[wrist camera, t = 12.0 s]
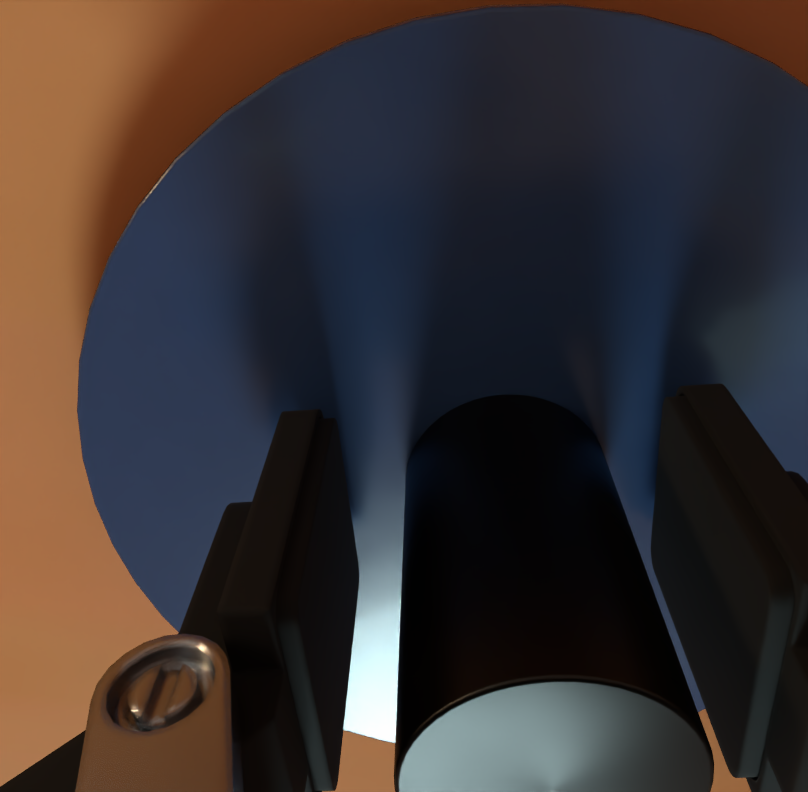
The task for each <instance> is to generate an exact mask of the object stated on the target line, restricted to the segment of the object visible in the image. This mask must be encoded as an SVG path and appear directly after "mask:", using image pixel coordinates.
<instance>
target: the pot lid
mask: <svg viewBox="0 0 808 792" xmlns="http://www.w3.org/2000/svg"><path fill="white" fill-rule="evenodd" d="M719 383H720V384H723V385H724V386H725V387H726V388H727V389H728V391H729V392H730V393H731V395H732V396H733V398H734V399H735V401H736V402H737V403H738V405H739V406H740V408H741V409H742V410H743V412H744V413H745V415H746V416H747V417H748V419H749V420H750V422H751V423H752V424H753V426H754V427H755V429H756V430H757V431H758V433H759V434H760V436H761V437H762V438H763V440H764V441H765V443H766V444H767V446H768V447H769V448H770V450H771V451H772V453H773V454H774V455H775V457H776V458H777V460H778V461H779V462H780V464H781V465H782V467H783V468H784V469H785V471H793V472H796V473H799V474H800V475H801V476H802V477H803V478H804V479H805V481H806V482H807V483H808V86H807V85H806V84H804V83H803V82H801V81H800V80H798V79H797V78H795V77H794V76H792V75H791V74H789V73H788V72H786V71H785V70H783V69H782V68H780V67H779V66H777V65H776V64H774V63H773V62H770V61H768V60H766V59H764V58H762V57H759V56H757V55H755V54H753V53H751V52H749V51H746V50H744V49H742V48H740V47H738V46H735V45H733V44H731V43H729V42H727V41H725V40H722V39H720V38H718V37H716V36H714V35H711V34H709V33H705V32H702V31H698V30H695V29H691V28H688V27H684V26H680V25H677V24H673V23H670V22H666V21H663V20H659V19H655V18H652V17H648V16H645V15H641V14H637V13H633V12H626V11H618V10H610V9H601V8H593V7H585V6H577V5H569V4H561V3H559V4H518V5H486V6H480V7H475V8H469V9H463V10H457V11H451V12H445V13H439V14H434V15H428V16H422V17H416V18H413V19H410V20H407V21H404V22H401V23H397V24H394V25H391V26H388V27H385V28H382V29H379V30H376V31H373V32H370V33H367V34H363V35H360V36H357V37H354V38H351V39H348V40H346V41H344V42H342V43H340V44H338V45H336V46H334V47H332V48H330V49H328V50H326V51H324V52H322V53H320V54H317V55H315V56H313V57H311V58H309V59H307V60H305V61H303V62H301V63H299V64H297V65H295V66H293V67H291V68H289V69H287V70H285V71H284V72H282V73H281V74H279V75H278V76H276V77H275V78H274V79H272V80H271V81H269V82H268V83H266V84H265V85H263V86H262V87H260V88H259V89H258V90H256V91H255V92H253V93H252V94H250V95H249V96H247V97H246V98H244V99H243V100H242V101H240V102H239V103H237V104H236V105H234V106H233V107H231V108H230V109H229V110H227V111H226V112H225V113H223V114H222V115H221V116H220V117H219V118H218V119H217V120H216V121H215V122H214V123H213V124H211V125H210V126H209V127H208V128H207V129H206V130H205V131H204V132H203V133H202V134H201V135H200V136H199V137H198V138H196V139H195V140H194V141H193V142H192V143H191V144H190V145H189V146H188V147H187V148H186V149H185V150H184V151H183V152H181V153H180V154H179V155H178V156H177V157H176V158H175V159H174V161H173V162H172V163H171V165H170V166H169V167H168V168H167V170H166V171H165V172H164V173H163V175H162V176H161V177H160V178H159V180H158V181H157V182H156V183H155V185H154V186H153V187H152V189H151V190H150V191H149V192H148V194H147V195H146V196H145V197H144V199H143V200H142V201H141V202H140V204H139V205H138V206H137V208H136V210H135V212H134V213H133V215H132V217H131V219H130V220H129V222H128V224H127V226H126V228H125V229H124V231H123V233H122V235H121V236H120V238H119V240H118V242H117V243H116V245H115V247H114V249H113V251H112V252H111V254H110V256H109V258H108V261H107V263H106V266H105V269H104V271H103V274H102V277H101V279H100V282H99V285H98V287H97V290H96V293H95V295H94V298H93V301H92V304H91V306H90V309H89V314H88V319H87V324H86V329H85V334H84V339H83V344H82V349H81V354H80V359H79V379H78V403H77V413H78V422H79V430H80V439H81V448H82V456H83V462H84V465H85V469H86V473H87V476H88V480H89V484H90V487H91V491H92V495H93V499H94V502H95V505H96V507H97V510H98V512H99V514H100V517H101V519H102V521H103V523H104V526H105V528H106V530H107V533H108V535H109V537H110V540H111V542H112V544H113V546H114V548H115V549H116V551H117V553H118V554H119V556H120V558H121V559H122V561H123V563H124V564H125V566H126V568H127V569H128V571H129V573H130V574H131V576H132V577H133V579H134V581H135V582H136V584H137V585H138V586H139V587H140V589H141V590H142V591H143V592H144V594H145V595H146V596H147V597H148V599H149V600H150V601H151V603H152V604H153V605H154V606H155V608H156V609H157V610H158V611H159V613H160V614H161V615H162V616H163V617H164V618H165V619H166V620H167V621H168V622H169V623H170V624H171V625H172V626H173V627H174V628H175V629H176V630H177V631H178V632H179V631H180V628H181V626H182V623H183V620H184V618H185V615H186V612H187V610H188V607H189V604H190V601H191V599H192V596H193V593H194V591H195V588H196V585H197V583H198V580H199V577H200V574H201V572H202V569H203V566H204V564H205V561H206V558H207V556H208V553H209V550H210V547H211V545H212V542H213V539H214V537H215V534H216V531H217V529H218V526H219V523H220V521H221V518H222V515H223V512H224V511H225V509H226V507H227V505H229V504H230V503H236V502H252V500H253V497H254V494H255V491H256V488H257V485H258V482H259V479H260V476H261V473H262V470H263V467H264V463H265V460H266V457H267V454H268V451H269V448H270V445H271V442H272V439H273V436H274V433H275V430H276V426H277V423H278V420H279V417H280V415H281V413H282V412H283V411H297V410H313V409H320V410H321V411H322V414H323V417H324V419H326V418H335V419H336V421H337V425H338V430H339V437H340V443H341V450H342V457H343V463H344V470H345V477H346V483H347V490H348V496H349V503H350V510H351V516H352V523H353V529H354V536H355V543H356V549H357V556H358V564H359V589H358V599H357V608H356V617H355V626H354V635H353V645H352V654H351V663H350V672H349V682H348V691H347V700H346V709H345V718H344V728H343V730H345V731H348V732H352V733H356V734H359V735H363V736H367V737H370V738H374V739H378V740H381V741H385V742H391V743H395V765H394V785H395V792H710V791H711V787H712V783H713V775H714V761H713V754H712V750H711V747H710V744H709V741H708V739H707V736H706V733H705V730H704V728H703V725H702V722H701V720H700V717H699V714H698V712H699V711H701V710H703V709H706V708H705V706H704V703H703V700H702V698H701V695H700V692H699V690H698V687H697V684H696V682H695V679H694V677H693V674H692V671H691V669H690V666H689V663H688V661H687V658H686V655H685V653H684V650H683V647H682V645H681V642H680V639H679V637H678V634H677V631H676V629H675V626H674V623H673V621H672V618H671V615H670V613H669V610H668V607H667V605H666V602H665V599H664V597H663V594H662V591H661V589H660V586H659V583H658V581H657V578H656V575H655V573H654V569H653V565H652V560H651V535H652V524H653V512H654V500H655V488H656V476H657V465H658V453H659V441H660V429H661V418H662V407H663V402H664V399H665V398H666V397H674V396H676V393H677V390H678V388H679V387H680V386H687V385H703V384H719Z"/></svg>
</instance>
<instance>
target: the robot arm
mask: <svg viewBox="0 0 808 792" xmlns="http://www.w3.org/2000/svg"><path fill="white" fill-rule="evenodd" d="M651 560H652V565H653V569H654V573H655V575H656V578H657V581H658V583H659V586H660V589H661V591H662V594H663V597H664V599H665V602H666V605H667V607H668V610H669V613H670V615H671V618H672V621H673V623H674V626H675V629H676V631H677V634H678V637H679V639H680V642H681V645H682V647H683V650H684V653H685V655H686V658H687V661H688V663H689V666H690V669H691V671H692V674H693V677H694V679H695V682H696V684H697V687H698V690H699V692H700V695H701V698H702V700H703V703H704V706H705V708H706V711H707V714H708V716H709V719H710V722H711V724H712V727H713V730H714V732H715V735H716V738H717V740H718V743H719V746H720V748H721V751H722V754H723V756H724V759H725V762H726V764H727V767H728V769H729V771H730V773H731V774H732V776H734V777H735V778H743V777H746V779H747V781H748V784H749V786H750V789H751V792H808V483H807V482H806V481H805V479H804V478H803V477H802V476H801V475H800V474H799V473H796V472H793V471H785V469H784V468H783V467H782V465H781V464H780V462H779V461H778V460H777V458H776V457H775V455H774V454H773V453H772V451H771V450H770V448H769V447H768V446H767V444H766V443H765V441H764V440H763V438H762V437H761V436H760V434H759V433H758V431H757V430H756V429H755V427H754V426H753V424H752V423H751V422H750V420H749V419H748V417H747V416H746V415H745V413H744V412H743V410H742V409H741V408H740V406H739V405H738V403H737V402H736V401H735V399H734V398H733V396H732V395H731V393H730V392H729V391H728V389H727V388H726V387H725V386H724V385H723V384H720V383H719V384H703V385H687V386H680V387H679V388H678V390H677V393H676V396H674V397H666V398H665V399H664V402H663V407H662V418H661V429H660V441H659V453H658V465H657V476H656V488H655V500H654V512H653V524H652V535H651ZM358 589H359V564H358V556H357V549H356V543H355V536H354V529H353V523H352V516H351V510H350V503H349V496H348V490H347V483H346V477H345V470H344V463H343V457H342V450H341V443H340V437H339V430H338V425H337V421H336V419H335V418H326V419H324V417H323V414H322V411H321V410H320V409H313V410H297V411H283V412H282V413H281V415H280V417H279V420H278V423H277V426H276V430H275V433H274V436H273V439H272V442H271V445H270V448H269V451H268V454H267V457H266V460H265V463H264V467H263V470H262V473H261V476H260V479H259V482H258V485H257V488H256V491H255V494H254V497H253V500H252V502H236V503H230V504H229V505H227V507H226V509H225V511H224V512H223V515H222V518H221V521H220V523H219V526H218V529H217V531H216V534H215V537H214V539H213V542H212V545H211V547H210V550H209V553H208V556H207V558H206V561H205V564H204V566H203V569H202V572H201V574H200V577H199V580H198V583H197V585H196V588H195V591H194V593H193V596H192V599H191V601H190V604H189V607H188V610H187V612H186V615H185V618H184V620H183V623H182V626H181V628H180V631H179V634H177V635H167V636H163V637H160V638H157V639H154V640H150V641H147V642H145V643H143V644H141V645H139V646H137V647H136V648H134V649H132V650H130V651H129V652H127V653H125V654H124V655H123V656H122V657H121V658H119V659H118V660H117V661H116V662H115V663H114V664H112V665H111V666H110V667H109V668H108V670H107V671H106V672H105V674H104V675H103V676H102V678H101V679H100V680H99V682H98V683H97V685H96V688H95V691H94V694H93V696H92V699H91V703H90V709H89V714H88V720H87V726H86V730H85V731H84V732H82V733H81V734H79V735H78V736H76V737H75V738H73V739H72V740H70V741H69V742H67V743H66V744H64V745H63V746H61V747H60V748H58V749H56V750H55V751H53V752H52V753H50V754H49V755H47V756H46V757H44V758H43V759H41V760H40V761H38V762H37V763H35V764H34V765H32V766H31V767H29V768H28V769H26V770H25V771H23V772H22V773H20V774H19V775H17V776H16V777H14V778H13V779H11V780H10V781H8V782H7V783H5V784H4V785H2V786H1V787H0V792H322V791H335V789H336V786H337V782H338V774H339V765H340V755H341V746H342V737H343V728H344V718H345V709H346V700H347V691H348V682H349V672H350V663H351V654H352V645H353V635H354V626H355V617H356V608H357V599H358Z"/></svg>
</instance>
